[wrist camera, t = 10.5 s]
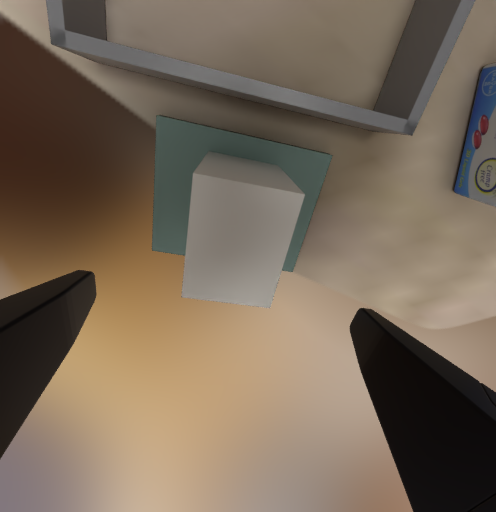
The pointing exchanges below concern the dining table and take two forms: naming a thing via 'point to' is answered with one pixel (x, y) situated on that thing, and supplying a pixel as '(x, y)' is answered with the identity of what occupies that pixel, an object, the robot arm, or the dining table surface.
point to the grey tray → (379, 120)
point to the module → (238, 230)
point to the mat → (233, 144)
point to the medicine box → (481, 144)
